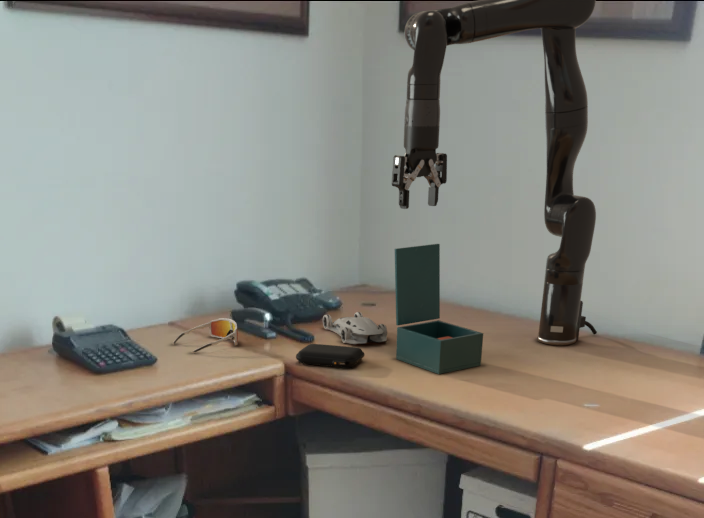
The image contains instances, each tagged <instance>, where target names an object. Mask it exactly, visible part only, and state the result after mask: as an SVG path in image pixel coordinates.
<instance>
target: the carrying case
mask: <svg viewBox="0 0 704 518" xmlns="http://www.w3.org/2000/svg"><path fill="white" fill-rule="evenodd" d="M365 355H366V354H365V352H364V350H362V348H361V347H356V346H355V347H354V346H344V345H343V346H342V345H333V344H323V343H321V344H320V343H310V344H307V345H306V346H305V347H303V348H301V349H300V350H299V351H298V352H297V353H296V354H295V359H296V360H297V361H298V363H300V364H303V365H311V366H312V365H313V366H324V367H333V368H344V369H345V368H346V369H347V368H348V369H349V368H353V367H355V366H356V365H357V364H359V362H361V361H362V359H363V358H365Z"/></svg>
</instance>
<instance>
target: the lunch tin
mask: <svg viewBox="0 0 704 518" xmlns="http://www.w3.org/2000/svg"><path fill="white" fill-rule="evenodd" d="M447 336H449V337H452V338H449V339H444V340H440V339H437V338H441V337H447ZM483 342H484V333H483V332H480V331H477V330H474V329H470V328H468V327H467V328H466V327H463V326H459V325H456V324H453V323H450V322H446V321H443V320H439V319H436V320H430V321H425V322H419V323H413V324H407V325H401V326H398V327H396V348H395V349H396V353H395V359H396V360H397V361H401V362H404V363H406V364H409V365H412V366H415V367H418V368H420V369H423V370H426V371H429V372H431V373H434V374H437V375H441V374H447V373H452V372H456V371H461V370H467V369H470V368H476V367H481V365H482V355H483V344H484V343H483Z"/></svg>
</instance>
